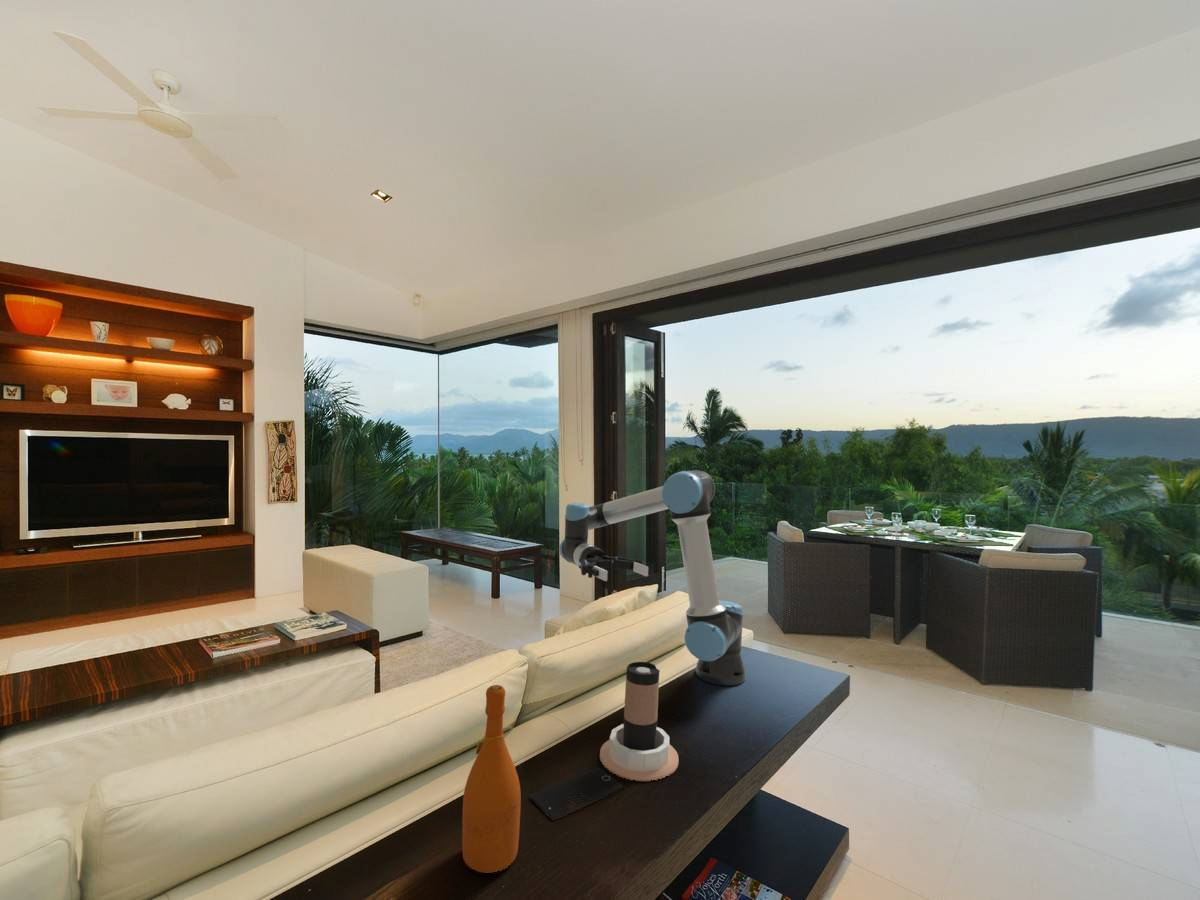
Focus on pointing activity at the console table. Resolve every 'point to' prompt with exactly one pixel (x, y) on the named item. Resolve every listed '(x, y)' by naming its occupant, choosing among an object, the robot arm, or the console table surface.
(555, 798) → the cell phone
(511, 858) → the wine bottle
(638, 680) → the travel mug
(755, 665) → the console table surface
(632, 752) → the white and pink ring
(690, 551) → the robot arm
